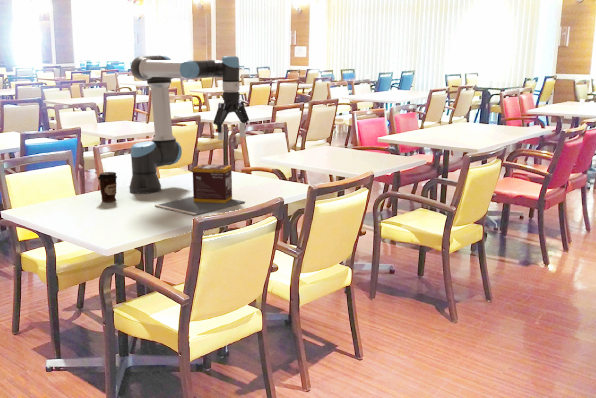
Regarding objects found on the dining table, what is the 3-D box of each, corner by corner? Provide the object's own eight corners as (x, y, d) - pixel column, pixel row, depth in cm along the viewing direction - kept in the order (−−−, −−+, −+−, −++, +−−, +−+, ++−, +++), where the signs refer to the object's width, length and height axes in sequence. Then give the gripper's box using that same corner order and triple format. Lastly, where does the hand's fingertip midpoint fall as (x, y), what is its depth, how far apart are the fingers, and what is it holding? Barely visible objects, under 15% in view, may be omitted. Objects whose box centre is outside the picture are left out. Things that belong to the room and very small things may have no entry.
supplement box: (226, 203, 287) (225, 169, 284) (193, 202, 290) (191, 167, 287) (232, 198, 297) (232, 165, 294) (201, 197, 300) (200, 163, 297)
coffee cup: (123, 200, 297) (121, 172, 294) (110, 203, 290) (108, 175, 287) (108, 198, 301) (106, 170, 298) (95, 202, 293) (93, 173, 290)
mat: (154, 206, 284) (154, 205, 284) (205, 195, 307) (205, 193, 307) (194, 215, 268) (194, 214, 268) (244, 202, 291) (244, 201, 291)
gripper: (216, 93, 278) (217, 142, 283) (256, 90, 296) (256, 136, 301) (204, 92, 282) (205, 140, 287) (244, 89, 301) (245, 134, 306)
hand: (231, 138), depth 294 cm, fingers open, 13 cm apart
